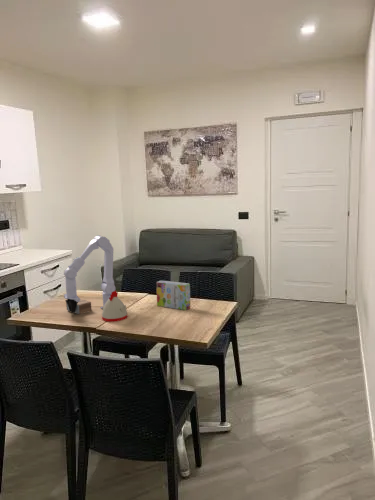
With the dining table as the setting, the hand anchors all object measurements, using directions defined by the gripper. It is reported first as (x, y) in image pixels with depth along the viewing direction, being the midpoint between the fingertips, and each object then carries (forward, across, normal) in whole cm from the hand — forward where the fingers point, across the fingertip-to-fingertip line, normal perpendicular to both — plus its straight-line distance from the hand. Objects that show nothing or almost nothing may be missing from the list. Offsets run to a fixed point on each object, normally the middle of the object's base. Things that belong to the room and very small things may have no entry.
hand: (72, 311), depth 234 cm
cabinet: (+2, -4, +7) cm, 8 cm away
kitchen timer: (+2, +24, +12) cm, 27 cm away
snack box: (+1, +36, +46) cm, 59 cm away
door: (+1, -4, +2) cm, 5 cm away
